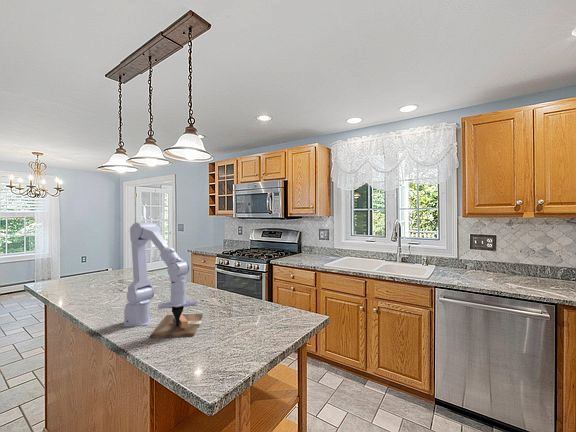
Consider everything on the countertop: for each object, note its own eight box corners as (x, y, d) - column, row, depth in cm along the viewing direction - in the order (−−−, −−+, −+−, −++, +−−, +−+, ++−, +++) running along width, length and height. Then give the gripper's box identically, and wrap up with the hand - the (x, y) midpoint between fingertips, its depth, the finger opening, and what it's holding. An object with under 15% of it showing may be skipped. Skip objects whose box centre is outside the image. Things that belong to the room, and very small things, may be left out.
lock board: (150, 338, 108) (150, 332, 108) (166, 317, 129) (166, 313, 129) (196, 335, 110) (196, 330, 110) (204, 316, 132) (204, 311, 132)
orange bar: (171, 319, 120) (171, 314, 120) (183, 317, 123) (184, 312, 123) (178, 329, 111) (178, 322, 111) (191, 326, 114) (191, 320, 114)
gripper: (157, 295, 108) (156, 331, 108) (197, 292, 112) (196, 327, 112) (159, 290, 114) (159, 324, 114) (197, 288, 119) (196, 320, 119)
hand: (177, 325), depth 114 cm, fingers closed, pressing on orange bar
